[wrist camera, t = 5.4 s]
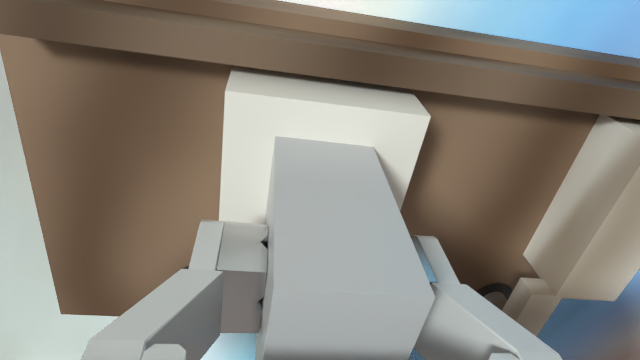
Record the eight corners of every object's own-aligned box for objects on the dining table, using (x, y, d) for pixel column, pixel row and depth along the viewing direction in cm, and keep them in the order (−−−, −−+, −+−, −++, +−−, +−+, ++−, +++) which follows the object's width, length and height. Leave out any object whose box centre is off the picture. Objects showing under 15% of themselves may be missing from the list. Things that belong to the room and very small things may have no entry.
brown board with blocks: (664, 63, 14) (773, 104, 11) (519, 306, 20) (563, 377, 17) (15, -42, 11) (-90, -25, 8) (76, 284, 17) (32, 366, 14)
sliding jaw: (409, 88, 12) (535, 254, 6) (347, 305, 17) (385, 517, 11) (232, 64, 11) (183, 228, 5) (219, 299, 16) (185, 525, 10)
